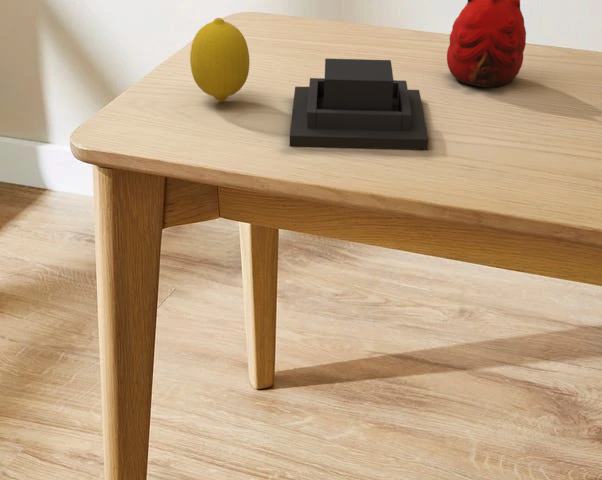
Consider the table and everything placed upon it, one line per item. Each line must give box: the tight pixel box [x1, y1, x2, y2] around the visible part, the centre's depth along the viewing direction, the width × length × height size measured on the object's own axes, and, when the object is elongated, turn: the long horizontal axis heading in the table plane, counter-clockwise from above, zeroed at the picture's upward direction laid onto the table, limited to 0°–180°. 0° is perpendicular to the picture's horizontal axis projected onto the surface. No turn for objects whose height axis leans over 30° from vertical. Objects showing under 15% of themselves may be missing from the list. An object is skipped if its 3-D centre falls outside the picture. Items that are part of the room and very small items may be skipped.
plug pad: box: [324, 58, 395, 111], centre depth 88 cm, size 6×6×4 cm
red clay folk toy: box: [446, 0, 527, 88], centre depth 95 cm, size 8×7×15 cm
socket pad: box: [289, 77, 429, 151], centre depth 89 cm, size 12×12×2 cm
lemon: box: [189, 17, 250, 103], centre depth 91 cm, size 6×6×8 cm
